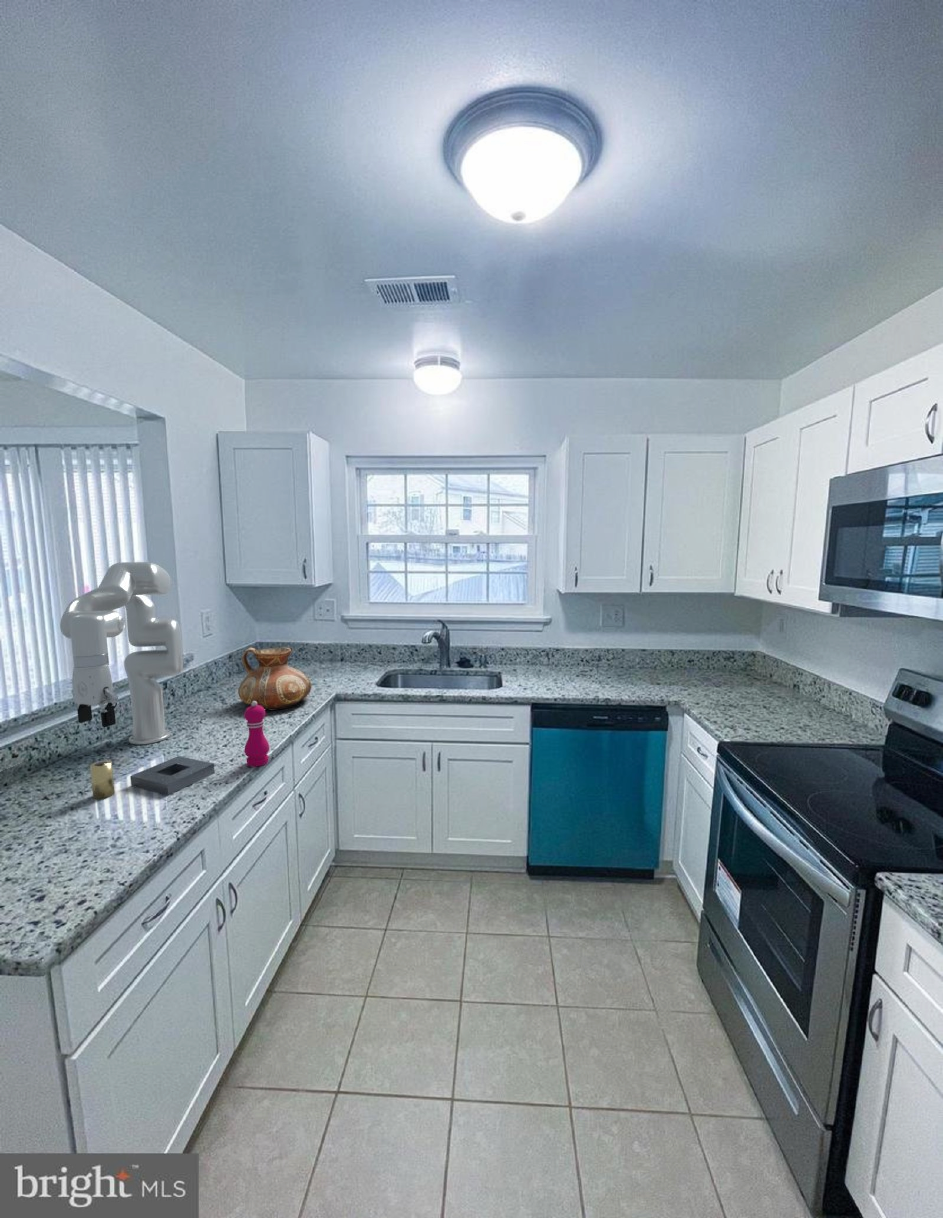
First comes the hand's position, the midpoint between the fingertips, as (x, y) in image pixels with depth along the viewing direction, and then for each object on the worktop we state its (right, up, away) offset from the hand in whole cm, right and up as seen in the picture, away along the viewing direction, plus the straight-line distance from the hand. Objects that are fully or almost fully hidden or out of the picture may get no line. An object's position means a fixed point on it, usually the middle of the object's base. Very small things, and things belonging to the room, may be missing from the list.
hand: (97, 723), depth 137 cm
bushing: (0, -20, +2) cm, 20 cm away
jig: (+14, -19, +12) cm, 26 cm away
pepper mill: (+33, -18, +23) cm, 44 cm away
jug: (+16, -11, +85) cm, 87 cm away
